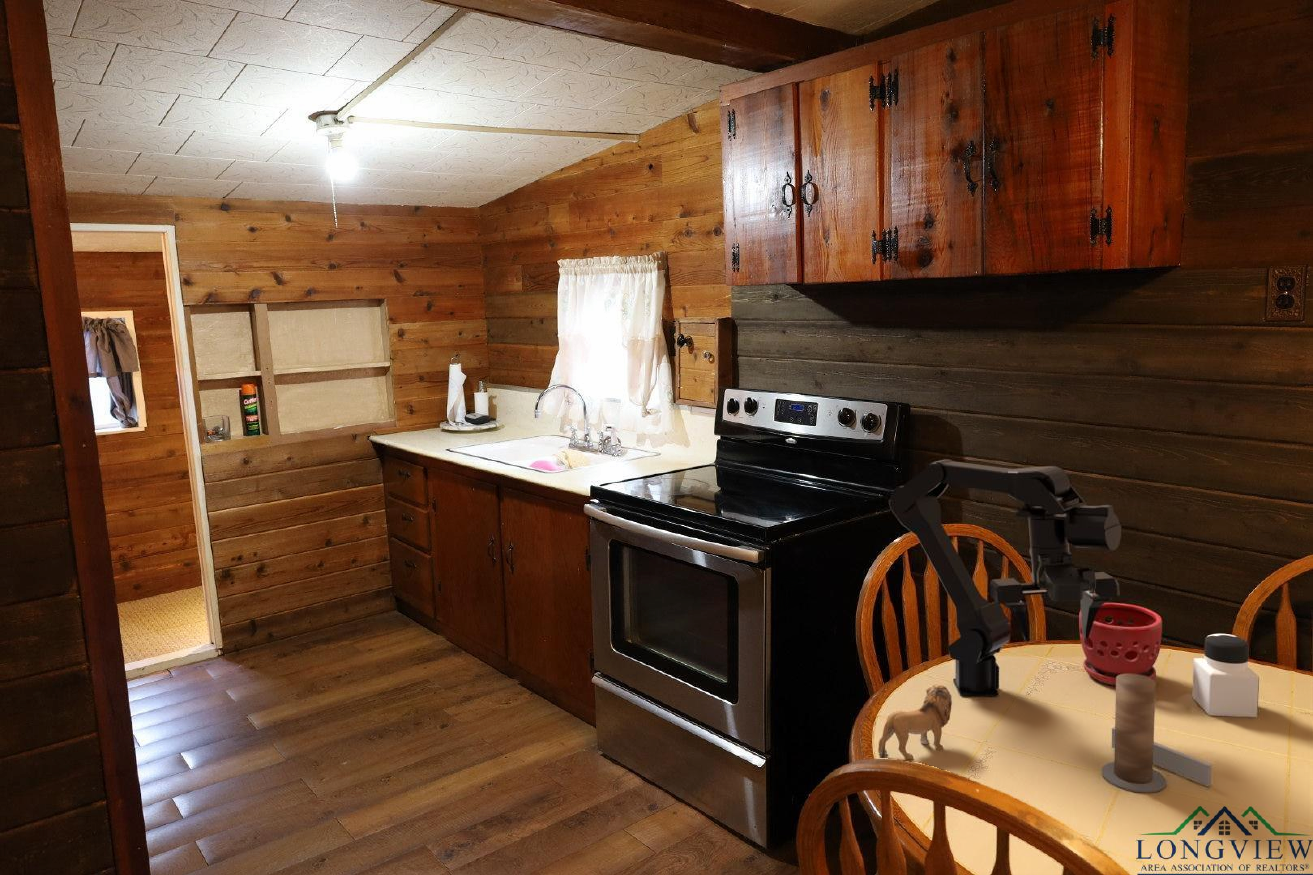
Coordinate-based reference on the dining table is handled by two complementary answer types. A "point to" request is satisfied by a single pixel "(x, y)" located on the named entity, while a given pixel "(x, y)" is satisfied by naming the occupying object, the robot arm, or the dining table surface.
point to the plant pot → (1122, 642)
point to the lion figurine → (919, 721)
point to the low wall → (1179, 763)
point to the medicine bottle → (1225, 678)
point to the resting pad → (1153, 786)
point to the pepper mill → (1134, 728)
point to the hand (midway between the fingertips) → (1056, 639)
